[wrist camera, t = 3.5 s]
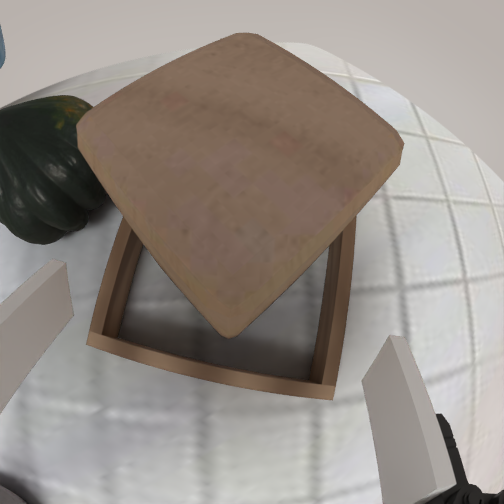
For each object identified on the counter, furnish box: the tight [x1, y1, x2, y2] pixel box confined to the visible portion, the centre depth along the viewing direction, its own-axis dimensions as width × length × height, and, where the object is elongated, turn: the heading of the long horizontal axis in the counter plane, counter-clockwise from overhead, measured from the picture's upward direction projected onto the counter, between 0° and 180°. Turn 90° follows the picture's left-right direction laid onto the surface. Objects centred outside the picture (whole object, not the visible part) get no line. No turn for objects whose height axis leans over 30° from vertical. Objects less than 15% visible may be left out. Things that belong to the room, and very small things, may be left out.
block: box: [76, 33, 404, 339], centre depth 19 cm, size 10×10×20 cm
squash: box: [0, 95, 105, 245], centre depth 24 cm, size 14×15×15 cm
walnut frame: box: [86, 216, 356, 400], centre depth 27 cm, size 20×20×4 cm
